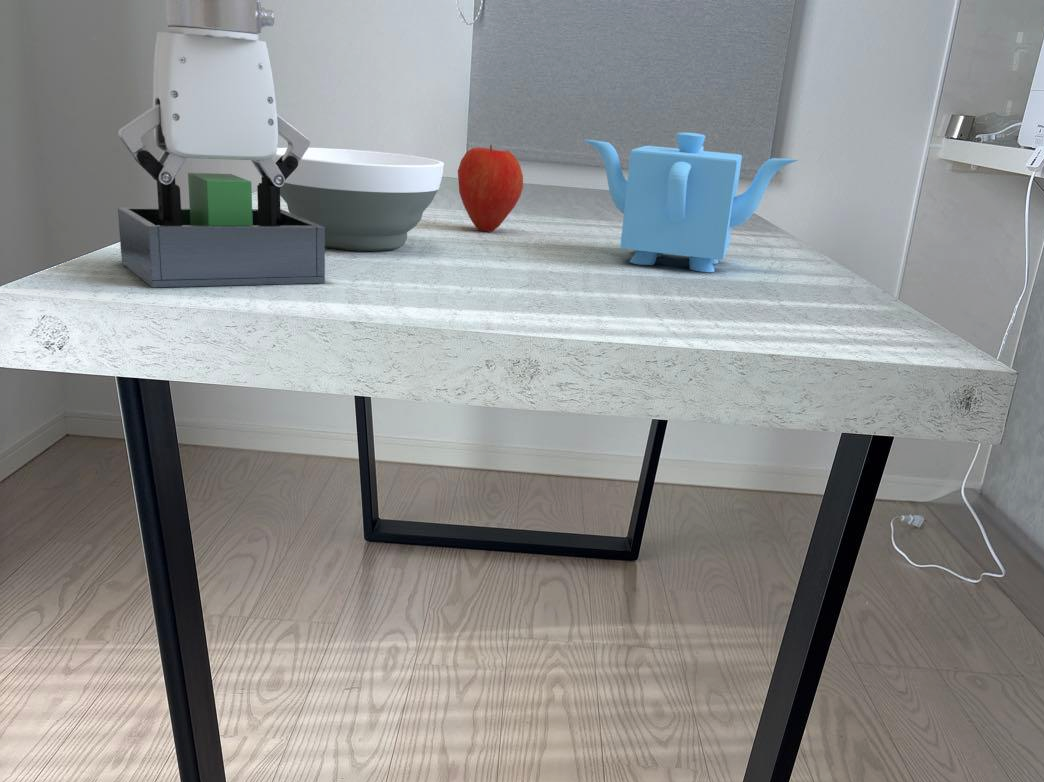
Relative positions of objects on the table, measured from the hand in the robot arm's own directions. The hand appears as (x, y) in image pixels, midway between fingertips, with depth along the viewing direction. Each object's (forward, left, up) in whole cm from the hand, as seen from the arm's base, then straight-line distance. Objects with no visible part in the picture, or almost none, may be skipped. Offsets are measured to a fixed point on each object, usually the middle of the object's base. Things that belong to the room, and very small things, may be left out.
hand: (221, 228), depth 97 cm
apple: (+43, +26, -4) cm, 50 cm away
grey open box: (0, 0, -4) cm, 4 cm away
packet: (0, 0, -3) cm, 3 cm away
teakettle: (+56, +2, -4) cm, 56 cm away
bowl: (+20, +16, -4) cm, 26 cm away
